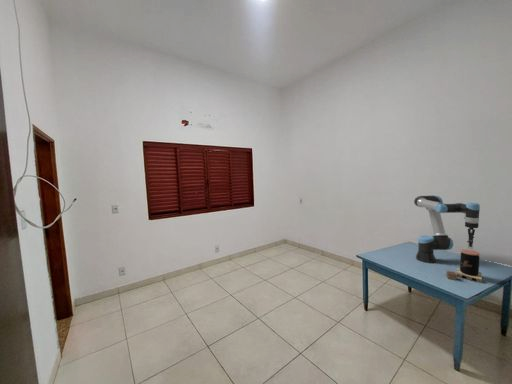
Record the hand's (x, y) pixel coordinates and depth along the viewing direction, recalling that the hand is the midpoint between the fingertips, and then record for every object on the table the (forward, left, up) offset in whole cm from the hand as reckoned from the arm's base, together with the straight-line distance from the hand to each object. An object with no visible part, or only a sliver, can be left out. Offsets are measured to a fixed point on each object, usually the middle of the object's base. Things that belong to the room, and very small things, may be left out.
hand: (470, 247), depth 168 cm
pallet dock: (0, 0, -24) cm, 24 cm away
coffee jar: (0, 0, -22) cm, 22 cm away
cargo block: (+12, -10, -24) cm, 29 cm away
